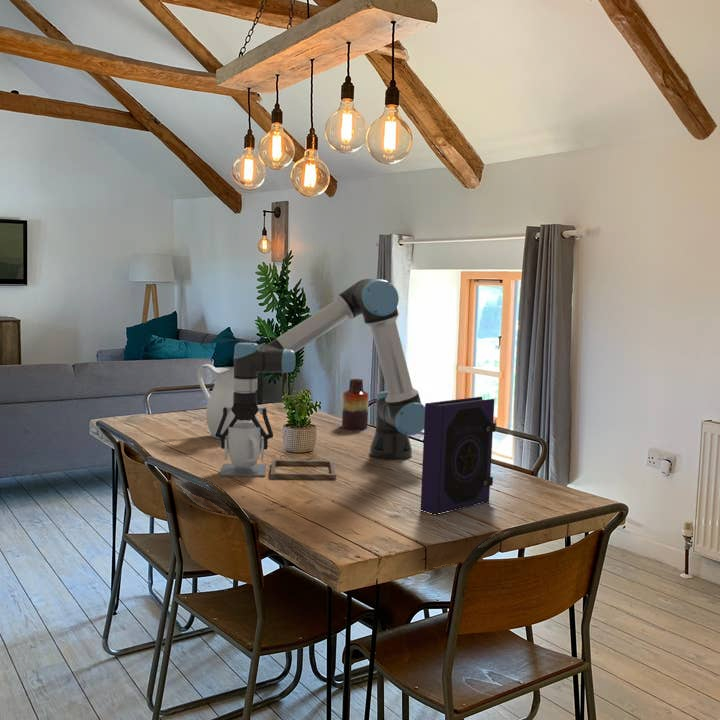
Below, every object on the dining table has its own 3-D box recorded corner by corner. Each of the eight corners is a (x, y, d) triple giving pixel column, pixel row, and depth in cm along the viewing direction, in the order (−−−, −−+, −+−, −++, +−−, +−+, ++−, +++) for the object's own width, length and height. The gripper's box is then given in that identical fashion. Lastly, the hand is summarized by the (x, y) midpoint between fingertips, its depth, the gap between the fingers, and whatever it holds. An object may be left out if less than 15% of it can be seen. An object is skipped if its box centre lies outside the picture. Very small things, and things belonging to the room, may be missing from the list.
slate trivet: (266, 465, 255) (266, 464, 255) (264, 476, 242) (265, 474, 242) (223, 465, 254) (223, 463, 254) (219, 476, 240) (219, 474, 240)
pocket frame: (332, 465, 260) (333, 460, 259) (336, 479, 241) (336, 474, 241) (272, 464, 258) (272, 459, 258) (270, 478, 240) (270, 473, 239)
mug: (272, 469, 244) (273, 429, 243) (241, 474, 238) (241, 432, 236) (252, 459, 256) (252, 421, 255) (221, 463, 250) (221, 423, 249)
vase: (367, 430, 322) (369, 381, 319) (341, 429, 322) (343, 380, 319) (367, 425, 332) (369, 378, 330) (342, 424, 332) (344, 377, 330)
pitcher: (258, 436, 301) (260, 365, 298) (229, 443, 287) (230, 369, 284) (213, 428, 314) (214, 360, 311) (183, 434, 300) (184, 363, 297)
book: (436, 516, 207) (441, 406, 204) (419, 510, 212) (424, 402, 209) (491, 501, 223) (497, 399, 220) (474, 496, 227) (480, 396, 224)
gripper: (282, 390, 250) (280, 456, 252) (209, 388, 248) (208, 455, 250) (282, 393, 242) (280, 462, 245) (206, 392, 240) (206, 461, 243)
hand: (244, 459), depth 247 cm, fingers closed on mug, 11 cm apart
